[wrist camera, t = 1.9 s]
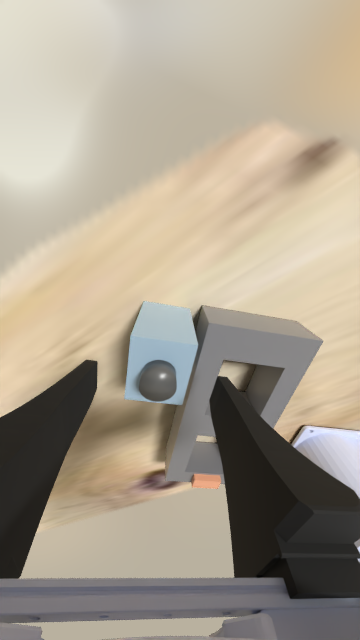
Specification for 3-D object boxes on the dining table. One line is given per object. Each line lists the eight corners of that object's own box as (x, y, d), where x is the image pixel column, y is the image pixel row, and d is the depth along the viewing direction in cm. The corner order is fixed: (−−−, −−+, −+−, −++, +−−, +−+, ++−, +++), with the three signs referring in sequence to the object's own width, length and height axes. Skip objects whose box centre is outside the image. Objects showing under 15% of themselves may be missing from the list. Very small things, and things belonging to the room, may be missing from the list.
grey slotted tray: (296, 321, 18) (329, 345, 14) (232, 453, 26) (242, 491, 22) (202, 305, 17) (210, 326, 13) (165, 448, 25) (164, 486, 21)
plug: (189, 308, 17) (201, 357, 10) (179, 355, 19) (183, 420, 13) (143, 300, 17) (126, 347, 10) (138, 349, 19) (120, 414, 12)
